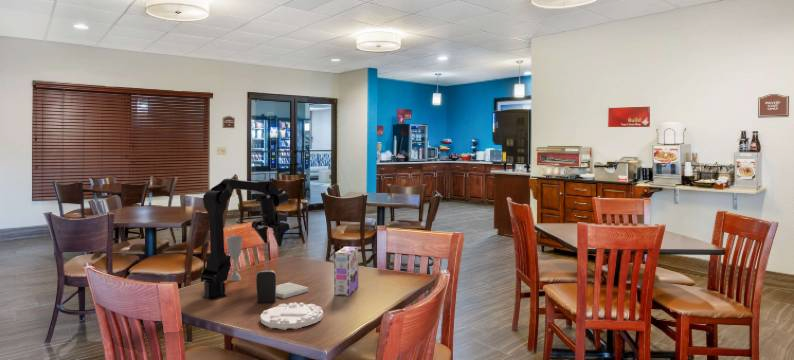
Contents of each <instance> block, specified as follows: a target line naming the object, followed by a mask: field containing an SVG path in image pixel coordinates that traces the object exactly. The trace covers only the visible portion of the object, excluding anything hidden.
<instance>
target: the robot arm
mask: <svg viewBox="0 0 794 360" xmlns="http://www.w3.org/2000/svg"><path fill="white" fill-rule="evenodd" d="M234 190H241V191H250V192H253V193H255V194H259V195H258V196H257V197H256V198H255V200H254V201H255V202H257V203H259V207H260V212H259V213H258V215H259V217H260V216H261V218H258V219H256V220H253V221H252V222H251V228H252V229H253V231H255V233H257V235H258V236H259V237H260V238H261V239H262V241H263V242H264V243H263V244H268V229H269V228H270V229H272V235H273V236H274V239H275V241H276V244H277V245H278V247H280V248H281V246H282V244H283V238H284V236H285V233H286V232H288V231H289V230H290V229H291V227H290V224H289V223H288V217H289V215H288V214H286V213H280V212H279V211H278V210H276V207H279V206H282V205H285V204H287V203H288V202H289V198H290V197H289V195H288V193H287V192H286V191H285V189H284V188H277V187H276V186H275V184H274V182H273V181H272V180H262V179H261V180H253V181H249V180H241V179H235V178H224V179H222V180H221V181H220V182H219V183H218V184H216V185H215V186H213V187H211V189H209V190H207V191H206V192H205V193H204V194H203V196H202V201H203V205H204V209H205V211H206V213H207V215H208V223H209V224H208V225H209V226H208V227H209V246H210V247H209V249H210V253H209V255H208V256H207V258H206V264H205V265H206V267H204V269H203V271H202V272H201V273H200V276H199V277H200V279H201V281H204V282H203V283H204V285H203V286H204V294H202V298H205V299H208V300H210V301H211V300H212V301H213V300H217V299H219V298H223V297H227V294H226V283H225V282H227V280H228V276H229V272H230V270H231V267H232V263H231V260H232V258H231V256H230V255H229V254H227V253H226V251H225V237H224V236H225V234H224V213H225V211H226V209H227V206H228V200H229V199H230V198H231V197H232V195H233V193H234Z"/></svg>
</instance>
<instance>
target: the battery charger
mask: <svg viewBox="0 0 794 360" xmlns="http://www.w3.org/2000/svg"><path fill="white" fill-rule="evenodd" d="M255 280H256V281H255V285H256V286H255V287H256V288H255V289H256V303H259V304H260V303H261V304H262V303H265V304H267V303H274V302H277V296H276V286H277V274H276V272H275V270H273V269H267V270H266V269H264V270H258V272H257V273H256V275H255Z"/></svg>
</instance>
